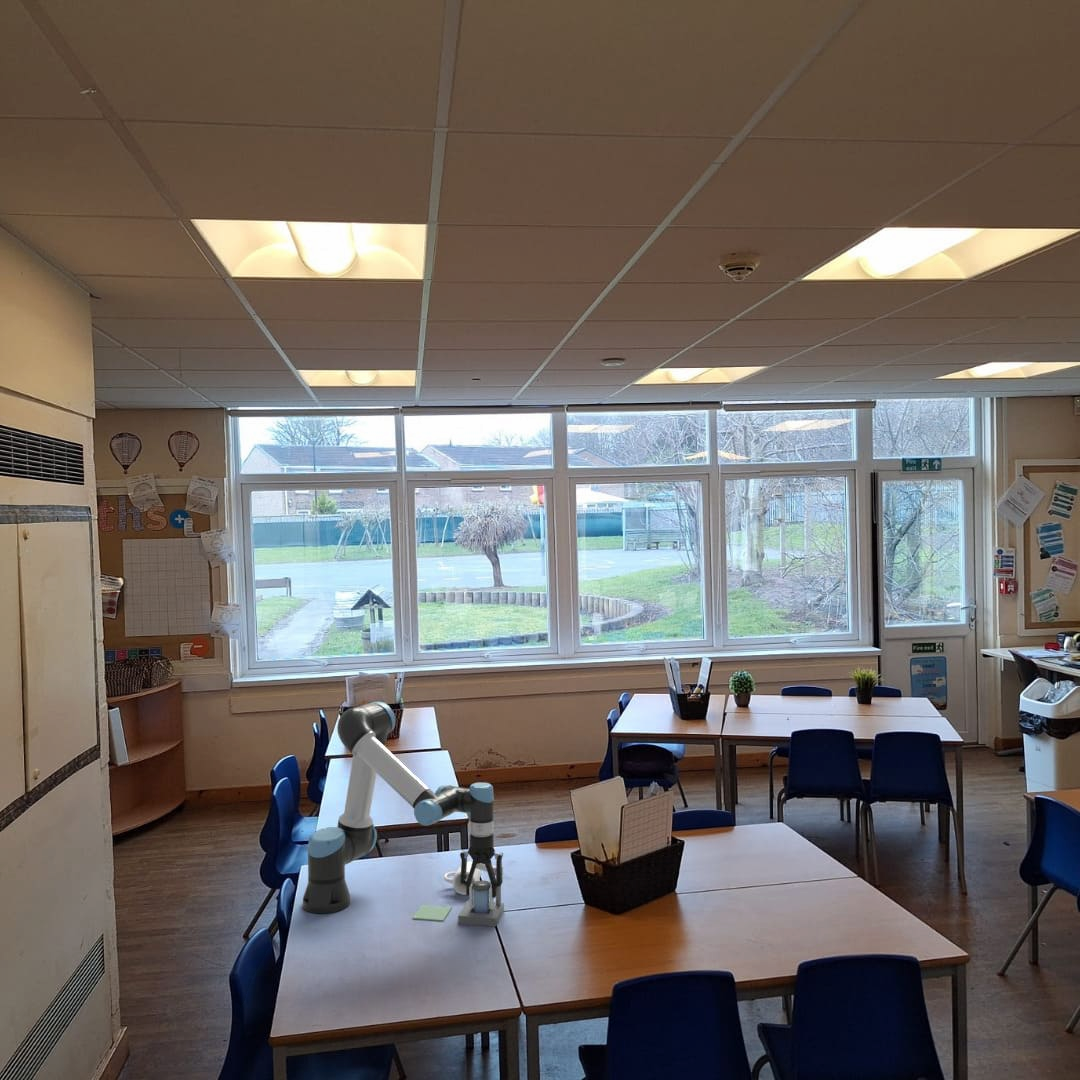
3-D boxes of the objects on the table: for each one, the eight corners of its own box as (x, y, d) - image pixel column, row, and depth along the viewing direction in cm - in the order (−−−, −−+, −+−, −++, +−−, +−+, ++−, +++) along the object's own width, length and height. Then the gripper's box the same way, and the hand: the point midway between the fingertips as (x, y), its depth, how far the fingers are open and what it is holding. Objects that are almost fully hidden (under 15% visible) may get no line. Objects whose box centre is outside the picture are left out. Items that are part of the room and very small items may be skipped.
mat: (412, 918, 286) (412, 917, 286) (421, 906, 295) (421, 904, 295) (443, 921, 284) (443, 919, 284) (451, 908, 294) (451, 907, 294)
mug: (480, 884, 314) (481, 861, 314) (476, 895, 304) (476, 872, 304) (446, 882, 315) (446, 860, 315) (440, 894, 305) (440, 870, 305)
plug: (470, 920, 285) (470, 886, 285) (474, 912, 290) (474, 880, 290) (488, 921, 284) (488, 888, 284) (492, 914, 289) (492, 881, 289)
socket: (458, 923, 282) (458, 885, 282) (467, 908, 294) (467, 871, 294) (496, 926, 280) (496, 887, 280) (503, 910, 292) (504, 873, 292)
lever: (504, 873, 291) (504, 867, 291) (498, 876, 289) (499, 870, 289) (477, 865, 298) (477, 859, 298) (472, 868, 296) (472, 862, 296)
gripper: (449, 835, 285) (449, 909, 285) (508, 839, 282) (508, 913, 282) (455, 827, 292) (455, 899, 292) (513, 831, 289) (512, 903, 289)
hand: (481, 906), depth 287 cm, fingers closed on plug, 6 cm apart
